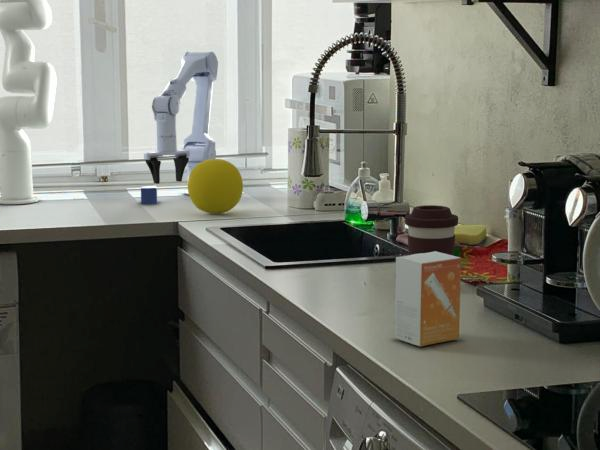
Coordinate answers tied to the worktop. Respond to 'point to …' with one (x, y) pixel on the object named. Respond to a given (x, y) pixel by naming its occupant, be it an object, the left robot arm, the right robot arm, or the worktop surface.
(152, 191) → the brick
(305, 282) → the worktop surface
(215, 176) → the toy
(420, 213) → the coffee cup
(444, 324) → the small box
